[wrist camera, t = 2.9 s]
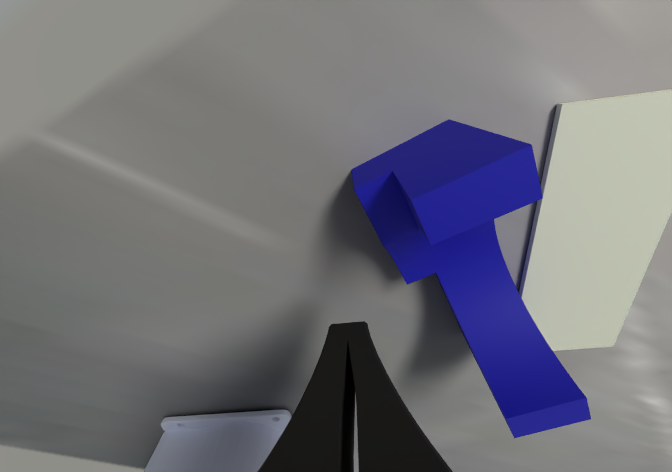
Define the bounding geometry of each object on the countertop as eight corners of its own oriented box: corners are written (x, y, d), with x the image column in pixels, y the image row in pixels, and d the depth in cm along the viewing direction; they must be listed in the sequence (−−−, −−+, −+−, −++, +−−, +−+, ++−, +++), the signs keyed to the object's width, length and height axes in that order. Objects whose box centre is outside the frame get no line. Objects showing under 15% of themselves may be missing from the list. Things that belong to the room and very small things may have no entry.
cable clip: (351, 168, 13) (359, 224, 8) (447, 118, 12) (531, 144, 7) (437, 339, 18) (479, 447, 13) (512, 314, 17) (590, 418, 12)
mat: (507, 350, 18) (509, 354, 18) (557, 103, 12) (562, 104, 11) (609, 342, 18) (613, 346, 17) (718, 83, 11) (727, 83, 11)
